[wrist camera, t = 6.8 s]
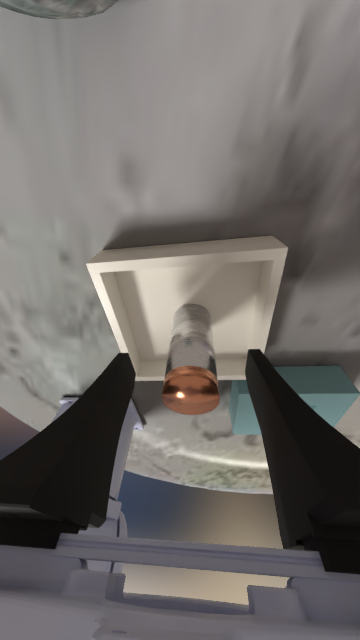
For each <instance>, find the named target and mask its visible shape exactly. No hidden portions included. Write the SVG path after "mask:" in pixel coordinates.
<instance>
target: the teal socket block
mask: <svg viewBox="0 0 360 640" xmlns="http://www.w3.org/2000/svg"><path fill="white" fill-rule="evenodd" d="M274 368H275V369H276V371H277V372H278V373H279V374H280V375H281V376H282V378H283V379H284V380H285V381H286V382H287V383H288V384H289V386H290V387H291V388H292V389H293V390H294V391H295V392H296V393H297V394H298V395H299V396H300V397H301V398H302V399H303V400H304V401H305V402H306V403H307V404H308V405H309V406H310V407H311V408H312V409H313V410H314V411H315V412H316V413H317V414H319V415H320V416H321V417H322V418H323V419H324V420H325V421H326V422H328V423H329V424H330V425H331V426H332V427H334V426H335V425H336V424H337V422H338V421H339V420H340V419H341V417H342V416H343V415H344V414H345V412H346V411H347V410H348V409H349V407H350V406H351V405H352V404H353V402H354V401H355V400H356V399H357V397H358V396H359V395H360V392H359V391H358V389H357V388H356V387H355V385H354V384H353V383H352V382H351V380H350V379H349V378H348V376H347V375H346V374H345V372H344V371H343V370H342V368H341V367H340V366H339V365H334V366H281V367H274ZM229 410H230V417H231V423H232V430H233V434H261V430H260V427H259V423H258V420H257V417H256V414H255V410H254V407H253V404H252V401H251V397H250V394H249V391H248V387H247V381H246V380H232V387H231V397H230V407H229Z"/></svg>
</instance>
